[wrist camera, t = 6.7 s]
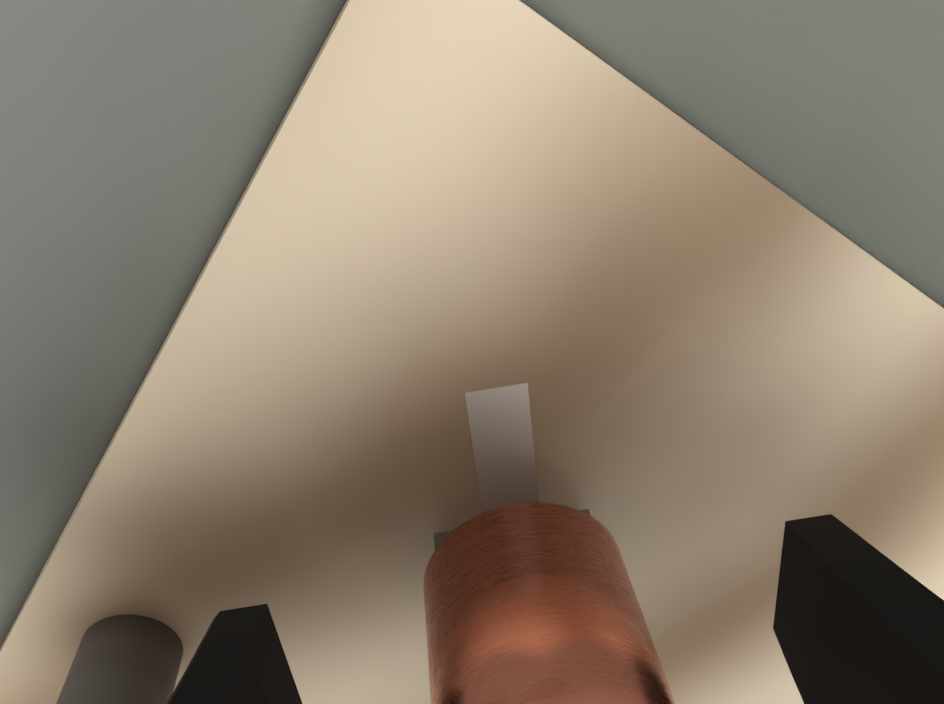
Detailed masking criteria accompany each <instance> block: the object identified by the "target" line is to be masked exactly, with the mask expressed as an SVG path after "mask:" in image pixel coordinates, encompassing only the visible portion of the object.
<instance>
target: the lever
mask: <svg viewBox="0 0 944 704" xmlns="http://www.w3.org/2000/svg"><path fill="white" fill-rule="evenodd" d="M434 544H435V551H434V553H433V554H432V556H431V557H430V560H429V562H428V564H427V567H426V571H425V575H424V584H423V588H424V604H425V620H426V635H427V651H428V667H429V683H430V698H431V704H675V701H674V698H673V695H672V693H671V690H670V687H669V684H668V682H667V679H666V676H665V673H664V671H663V668H662V665H661V663H660V660H659V657H658V654H657V652H656V649H655V646H654V643H653V641H652V638H651V635H650V632H649V630H648V627H647V624H646V621H645V619H644V616H643V613H642V610H641V608H640V605H639V602H638V600H637V597H636V594H635V591H634V589H633V586H632V583H631V580H630V578H629V575H628V572H627V569H626V567H625V564H624V561H623V558H622V556H621V553H620V550H619V547H618V545H617V543H616V541H615V539H614V537H613V536H612V535H611V533H610V532H609V531H608V530H607V528H606V527H604V526H603V525H602V524H601V523H600V522H599V521H597V520H596V519H594V518H593V517H592V516H591V515H590V512H589V509H584V510H577V509H574V508H571V507H568V506H564V505H559V504H553V503H543V502H528V503H519V504H512V505H507V506H502V507H499V508H496V509H492V510H489V511H486V512H484V513H482V514H480V515H477V516H475V517H473V518H471V519H470V520H468V521H466V522H464V523H463V524H461V525H460V526H459V527H457V528H456V529H454V530H453V531H447V532H441V533H434Z"/></svg>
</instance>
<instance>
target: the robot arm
mask: <svg viewBox="0 0 944 704" xmlns="http://www.w3.org/2000/svg"><path fill="white" fill-rule="evenodd" d="M773 630H774V632H775V635H776V637H777V640H778V642H779V645H780V647H781V650H782V652H783V655H784V657H785V660H786V662H787V665H788V667H789V670H790V672H791V674H792V677H793V679H794V681H795V684H796V686H797V688H798V691H799V693H800V695H801V698H802V700H803V702H804V704H944V600H943V599H941V598H940V597H939V596H937V595H936V594H935V593H933V592H932V591H931V590H929V589H928V588H927V587H925V586H924V585H923V584H921V583H920V582H919V581H917V580H916V579H915V578H914V577H912V576H911V575H910V574H908V573H907V572H906V571H904V570H903V569H902V568H901V567H899V566H898V565H897V564H895V563H894V562H893V561H891V560H890V559H889V558H888V557H886V556H885V555H884V554H882V553H881V552H880V551H879V550H877V549H876V548H875V547H873V546H872V545H871V544H869V543H868V542H867V541H866V540H864V539H863V538H862V537H860V536H859V535H858V534H857V533H855V532H854V531H853V530H851V529H850V528H849V527H848V526H846V525H845V524H844V523H842V522H841V521H840V520H838V519H837V518H836V517H834V516H833V515H832V514H828V515H822V516H815V517H809V518H803V519H796V520H790V521H785V528H784V537H783V545H782V554H781V563H780V571H779V580H778V589H777V597H776V606H775V615H774V623H773ZM167 704H302V701H301V698H300V695H299V692H298V690H297V687H296V684H295V681H294V678H293V675H292V673H291V670H290V667H289V664H288V661H287V659H286V656H285V653H284V650H283V647H282V644H281V642H280V639H279V636H278V633H277V630H276V627H275V625H274V622H273V619H272V616H271V613H270V610H269V608H268V605H267V604H262V605H255V606H249V607H243V608H237V609H230V610H224V611H220V612H219V613H218V614H217V615H216V616H215V618H214V619H213V621H212V622H211V624H210V626H209V628H208V630H207V632H206V634H205V635H204V637H203V639H202V641H201V643H200V645H199V646H198V648H197V650H196V652H195V654H194V656H193V658H192V659H191V661H190V663H189V665H188V667H187V668H186V670H185V672H184V674H183V676H182V677H181V679H180V681H179V683H178V685H177V686H176V688H175V690H174V692H173V693H172V695H171V697H170V699H169V700H168V702H167Z"/></svg>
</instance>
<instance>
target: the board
mask: <svg viewBox="0 0 944 704" xmlns="http://www.w3.org/2000/svg"><path fill="white" fill-rule="evenodd" d="M528 502H543V503H553V504H559V505H564V506H568V507H571V508H574V509H577V510H584V509H589V512H590V515H591V516H592V517H593V518H594V519H596V520H597V521H599V522H600V523H601V524H602V525H603V526H604V527H606V528H607V530H608V531H609V532H610V533H611V535H612V536H613V537H614V539H615V541H616V543H617V545H618V547H619V550H620V553H621V556H622V558H623V561H624V564H625V567H626V569H627V572H628V575H629V578H630V580H631V583H632V586H633V589H634V591H635V594H636V597H637V600H638V602H639V605H640V608H641V610H642V613H643V616H644V619H645V621H646V624H647V627H648V630H649V632H650V635H651V638H652V641H653V643H654V646H655V649H656V652H657V654H658V657H659V660H660V663H661V665H662V668H663V671H664V673H665V676H666V679H667V682H668V684H669V687H670V690H671V693H672V695H673V698H674V701H675V704H804V702H803V700H802V698H801V695H800V693H799V691H798V688H797V686H796V684H795V681H794V679H793V677H792V674H791V672H790V670H789V667H788V665H787V662H786V660H785V657H784V655H783V652H782V650H781V647H780V645H779V642H778V640H777V637H776V635H775V632H774V630H773V623H774V615H775V606H776V597H777V589H778V580H779V571H780V563H781V554H782V545H783V537H784V528H785V521H790V520H796V519H803V518H809V517H815V516H822V515H828V514H832V515H833V516H834V517H836V518H837V519H838V520H840V521H841V522H842V523H844V524H845V525H846V526H848V527H849V528H850V529H851V530H853V531H854V532H855V533H857V534H858V535H859V536H860V537H862V538H863V539H864V540H866V541H867V542H868V543H869V544H871V545H872V546H873V547H875V548H876V549H877V550H879V551H880V552H881V553H882V554H884V555H885V556H886V557H888V558H889V559H890V560H891V561H893V562H894V563H895V564H897V565H898V566H899V567H901V568H902V569H903V570H904V571H906V572H907V573H908V574H910V575H911V576H912V577H914V578H915V579H916V580H917V581H919V582H920V583H921V584H923V585H924V586H925V587H927V588H928V589H929V590H931V591H932V592H933V593H935V594H936V595H937V596H939V597H940V598H941V599H943V600H944V308H943V307H941V306H940V305H939V304H937V303H936V302H934V301H933V300H932V299H930V298H929V297H928V296H926V295H925V294H923V293H922V292H921V291H919V290H918V289H917V288H915V287H914V286H912V285H911V284H910V283H908V282H907V281H906V280H904V279H903V278H901V277H900V276H899V275H897V274H896V273H895V272H893V271H892V270H890V269H889V268H888V267H886V266H885V265H884V264H882V263H881V262H879V261H878V260H877V259H875V258H874V257H873V256H871V255H870V254H868V253H867V252H866V251H864V250H863V249H861V248H860V247H859V246H857V245H856V244H855V243H853V242H852V241H850V240H849V239H848V238H846V237H845V236H844V235H842V234H841V233H839V232H838V231H837V230H835V229H834V228H833V227H831V226H830V225H828V224H827V223H826V222H824V221H823V220H822V219H820V218H819V217H817V216H816V215H815V214H813V213H812V212H811V211H809V210H808V209H806V208H805V207H804V206H802V205H801V204H800V203H798V202H797V201H795V200H794V199H793V198H791V197H790V196H789V195H787V194H786V193H784V192H783V191H782V190H780V189H779V188H778V187H776V186H775V185H773V184H772V183H771V182H769V181H768V180H767V179H765V178H764V177H762V176H761V175H760V174H758V173H757V172H756V171H754V170H753V169H751V168H750V167H749V166H747V165H746V164H745V163H743V162H742V161H740V160H739V159H738V158H736V157H735V156H734V155H732V154H731V153H729V152H728V151H727V150H725V149H724V148H723V147H721V146H720V145H718V144H717V143H716V142H714V141H713V140H712V139H710V138H709V137H707V136H706V135H705V134H703V133H702V132H701V131H699V130H698V129H696V128H695V127H694V126H692V125H691V124H689V123H688V122H687V121H685V120H684V119H683V118H681V117H680V116H678V115H677V114H676V113H674V112H673V111H672V110H670V109H669V108H667V107H666V106H665V105H663V104H662V103H661V102H659V101H658V100H656V99H655V98H654V97H652V96H651V95H650V94H648V93H647V92H645V91H644V90H643V89H641V88H640V87H639V86H637V85H636V84H634V83H633V82H632V81H630V80H629V79H628V78H626V77H625V76H623V75H622V74H621V73H619V72H618V71H617V70H615V69H614V68H612V67H611V66H610V65H608V64H607V63H606V62H604V61H603V60H601V59H600V58H599V57H597V56H596V55H595V54H593V53H592V52H590V51H589V50H588V49H586V48H585V47H584V46H582V45H581V44H579V43H578V42H577V41H575V40H574V39H573V38H571V37H570V36H568V35H567V34H566V33H564V32H563V31H562V30H560V29H559V28H557V27H556V26H555V25H553V24H552V23H551V22H549V21H548V20H546V19H545V18H544V17H542V16H541V15H540V14H538V13H537V12H535V11H534V10H533V9H531V8H530V7H529V6H527V5H526V4H524V3H523V2H522V1H520V0H347V1H346V3H345V5H344V6H343V8H342V10H341V12H340V14H339V16H338V18H337V20H336V21H335V23H334V25H333V27H332V29H331V31H330V33H329V35H328V36H327V38H326V40H325V42H324V44H323V46H322V48H321V49H320V51H319V53H318V55H317V57H316V59H315V61H314V63H313V64H312V66H311V68H310V70H309V72H308V74H307V76H306V78H305V79H304V81H303V83H302V85H301V87H300V89H299V91H298V92H297V94H296V96H295V98H294V100H293V102H292V104H291V106H290V107H289V109H288V111H287V113H286V115H285V117H284V119H283V121H282V122H281V124H280V126H279V128H278V130H277V132H276V134H275V135H274V137H273V139H272V141H271V143H270V145H269V147H268V149H267V150H266V152H265V154H264V156H263V158H262V160H261V162H260V163H259V165H258V167H257V169H256V171H255V173H254V175H253V177H252V178H251V180H250V182H249V184H248V186H247V188H246V190H245V192H244V193H243V195H242V197H241V199H240V201H239V203H238V205H237V206H236V208H235V210H234V212H233V214H232V216H231V218H230V220H229V221H228V223H227V225H226V227H225V229H224V231H223V233H222V235H221V236H220V238H219V240H218V242H217V244H216V246H215V248H214V249H213V251H212V253H211V255H210V257H209V259H208V261H207V263H206V264H205V266H204V268H203V270H202V272H201V274H200V276H199V278H198V279H197V281H196V283H195V285H194V287H193V289H192V291H191V292H190V294H189V296H188V298H187V300H186V302H185V304H184V306H183V307H182V309H181V311H180V313H179V315H178V317H177V319H176V321H175V322H174V324H173V326H172V328H171V330H170V332H169V334H168V335H167V337H166V339H165V341H164V343H163V345H162V347H161V349H160V350H159V352H158V354H157V356H156V358H155V360H154V362H153V363H152V365H151V367H150V369H149V371H148V373H147V375H146V377H145V378H144V380H143V382H142V384H141V386H140V388H139V390H138V392H137V393H136V395H135V397H134V399H133V401H132V403H131V405H130V406H129V408H128V410H127V412H126V414H125V416H124V418H123V420H122V421H121V423H120V425H119V427H118V429H117V431H116V433H115V435H114V436H113V438H112V440H111V442H110V444H109V446H108V448H107V449H106V451H105V453H104V455H103V457H102V459H101V461H100V463H99V464H98V466H97V468H96V470H95V472H94V474H93V476H92V478H91V479H90V481H89V483H88V485H87V487H86V489H85V491H84V492H83V494H82V496H81V498H80V500H79V502H78V504H77V506H76V507H75V509H74V511H73V513H72V515H71V517H70V519H69V521H68V522H67V524H66V526H65V528H64V530H63V532H62V534H61V535H60V537H59V539H58V541H57V543H56V545H55V547H54V549H53V550H52V552H51V554H50V556H49V558H48V560H47V562H46V563H45V565H44V567H43V569H42V571H41V573H40V575H39V577H38V578H37V580H36V582H35V584H34V586H33V588H32V590H31V592H30V593H29V595H28V597H27V599H26V601H25V603H24V605H23V606H22V608H21V610H20V612H19V614H18V616H17V618H16V620H15V621H14V623H13V625H12V627H11V629H10V631H9V633H8V635H7V636H6V638H5V640H4V642H3V644H2V646H1V648H0V704H167V702H168V700H169V699H170V697H171V695H172V693H173V692H174V690H175V688H176V686H177V685H178V683H179V681H180V679H181V677H182V676H183V674H184V672H185V670H186V668H187V667H188V665H189V663H190V661H191V659H192V658H193V656H194V654H195V652H196V650H197V648H198V646H199V645H200V643H201V641H202V639H203V637H204V635H205V634H206V632H207V630H208V628H209V626H210V624H211V622H212V621H213V619H214V618H215V616H216V615H217V614H218V613H219V612H220V611H224V610H230V609H237V608H243V607H249V606H255V605H262V604H267V605H268V608H269V610H270V613H271V616H272V619H273V622H274V625H275V627H276V630H277V633H278V636H279V639H280V642H281V644H282V647H283V650H284V653H285V656H286V659H287V661H288V664H289V667H290V670H291V673H292V675H293V678H294V681H295V684H296V687H297V690H298V692H299V695H300V698H301V701H302V704H431V698H430V683H429V667H428V651H427V635H426V620H425V604H424V588H423V584H424V575H425V571H426V567H427V564H428V562H429V560H430V557H431V556H432V554H433V553H434V551H435V544H434V533H441V532H447V531H453V530H454V529H456V528H457V527H459V526H460V525H461V524H463V523H464V522H466V521H468V520H470V519H471V518H473V517H475V516H477V515H480V514H482V513H484V512H486V511H489V510H492V509H496V508H499V507H502V506H507V505H512V504H519V503H528Z"/></svg>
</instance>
